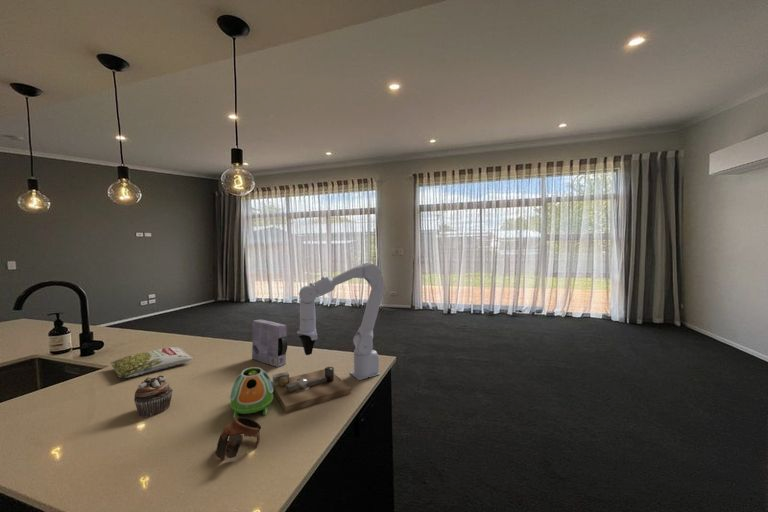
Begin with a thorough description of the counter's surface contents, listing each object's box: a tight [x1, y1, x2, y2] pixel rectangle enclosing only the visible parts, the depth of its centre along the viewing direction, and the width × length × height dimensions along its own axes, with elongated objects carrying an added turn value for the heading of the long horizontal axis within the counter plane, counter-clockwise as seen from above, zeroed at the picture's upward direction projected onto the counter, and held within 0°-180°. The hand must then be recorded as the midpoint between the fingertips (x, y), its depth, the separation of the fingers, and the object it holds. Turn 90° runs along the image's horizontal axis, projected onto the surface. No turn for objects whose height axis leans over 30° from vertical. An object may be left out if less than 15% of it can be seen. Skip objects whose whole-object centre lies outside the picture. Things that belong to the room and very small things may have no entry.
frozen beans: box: [110, 346, 194, 379], centre depth 129 cm, size 21×6×25 cm
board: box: [272, 368, 352, 414], centre depth 106 cm, size 22×20×5 cm
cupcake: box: [133, 375, 174, 418], centre depth 94 cm, size 10×10×10 cm
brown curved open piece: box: [215, 416, 262, 461], centre depth 74 cm, size 12×10×8 cm
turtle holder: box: [229, 366, 274, 420], centre depth 96 cm, size 12×18×12 cm
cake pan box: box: [251, 318, 288, 368], centre depth 133 cm, size 19×5×18 cm, turn 58°
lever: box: [287, 366, 335, 392], centre depth 105 cm, size 17×4×4 cm, turn 124°
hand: (308, 354), depth 113 cm, fingers closed
